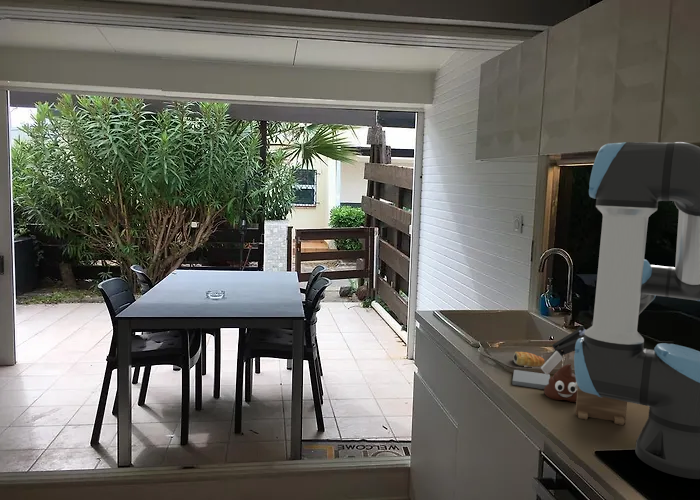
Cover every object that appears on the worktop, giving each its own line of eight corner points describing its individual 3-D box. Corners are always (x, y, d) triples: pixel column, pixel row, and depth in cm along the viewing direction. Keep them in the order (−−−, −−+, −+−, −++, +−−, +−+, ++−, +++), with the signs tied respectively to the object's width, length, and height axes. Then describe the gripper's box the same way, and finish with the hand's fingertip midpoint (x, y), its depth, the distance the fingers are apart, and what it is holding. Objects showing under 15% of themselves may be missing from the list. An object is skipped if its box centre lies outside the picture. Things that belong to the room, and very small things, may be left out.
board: (550, 390, 155) (550, 385, 155) (512, 384, 158) (512, 380, 158) (549, 378, 165) (549, 374, 165) (513, 373, 168) (514, 369, 168)
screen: (626, 425, 134) (631, 367, 132) (576, 417, 137) (581, 361, 135) (623, 417, 138) (628, 361, 137) (575, 410, 142) (579, 355, 140)
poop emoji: (581, 394, 153) (584, 360, 152) (585, 406, 145) (588, 370, 144) (542, 389, 156) (545, 356, 155) (544, 400, 148) (547, 366, 147)
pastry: (541, 362, 181) (542, 350, 180) (547, 369, 174) (548, 357, 174) (511, 360, 181) (512, 348, 181) (516, 367, 175) (517, 355, 174)
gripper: (656, 344, 141) (600, 407, 138) (587, 320, 164) (539, 373, 162) (640, 324, 138) (584, 387, 136) (573, 302, 162) (524, 356, 160)
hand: (559, 380), depth 149 cm, fingers open, 13 cm apart
